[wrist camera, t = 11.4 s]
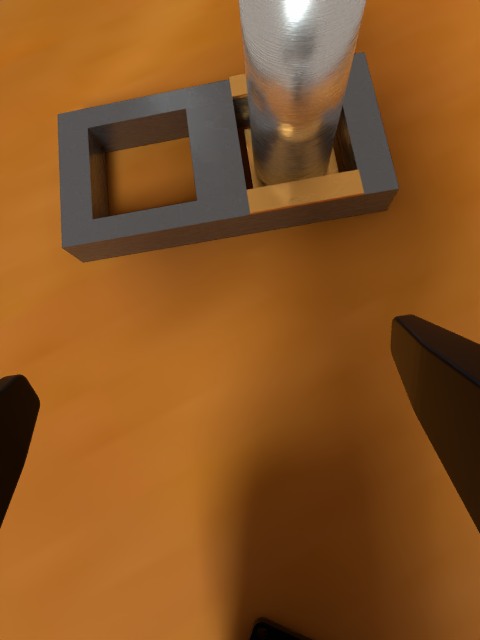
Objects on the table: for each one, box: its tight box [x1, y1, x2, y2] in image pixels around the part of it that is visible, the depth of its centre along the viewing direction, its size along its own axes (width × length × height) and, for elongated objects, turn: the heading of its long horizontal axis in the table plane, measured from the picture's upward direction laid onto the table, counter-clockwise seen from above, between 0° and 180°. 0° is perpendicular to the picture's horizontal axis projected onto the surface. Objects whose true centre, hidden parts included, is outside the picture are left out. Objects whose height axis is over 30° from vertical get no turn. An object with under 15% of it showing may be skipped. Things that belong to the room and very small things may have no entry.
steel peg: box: [239, 0, 366, 186], centre depth 19 cm, size 5×5×12 cm
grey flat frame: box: [58, 52, 399, 262], centre depth 24 cm, size 20×10×3 cm, turn 98°
